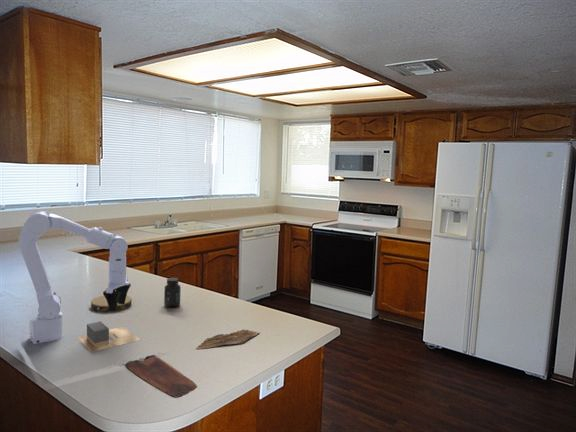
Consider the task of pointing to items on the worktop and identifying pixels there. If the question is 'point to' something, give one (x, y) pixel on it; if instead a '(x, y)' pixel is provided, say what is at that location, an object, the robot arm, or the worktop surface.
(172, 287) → the supplement bottle
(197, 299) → the worktop surface
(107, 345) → the oak board
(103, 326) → the block
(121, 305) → the wood log slice
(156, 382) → the wooden tablet
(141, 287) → the worktop surface
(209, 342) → the wooden fragment
